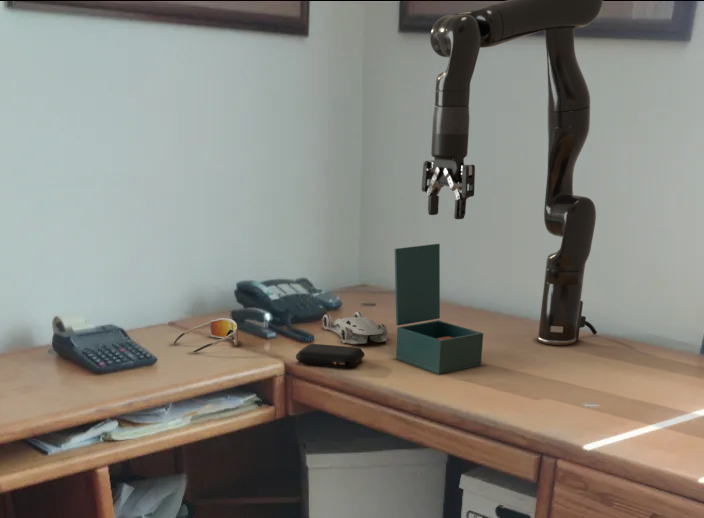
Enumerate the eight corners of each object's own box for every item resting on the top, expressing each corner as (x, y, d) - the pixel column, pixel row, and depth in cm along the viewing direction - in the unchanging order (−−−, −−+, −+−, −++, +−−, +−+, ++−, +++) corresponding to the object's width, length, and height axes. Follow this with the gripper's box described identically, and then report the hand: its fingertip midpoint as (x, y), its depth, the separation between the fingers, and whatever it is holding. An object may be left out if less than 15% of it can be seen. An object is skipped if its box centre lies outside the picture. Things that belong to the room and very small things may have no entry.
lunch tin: (480, 365, 216) (483, 333, 212) (438, 374, 209) (440, 341, 206) (437, 351, 226) (438, 320, 223) (396, 359, 220) (396, 327, 216)
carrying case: (291, 366, 215) (352, 371, 211) (291, 352, 213) (352, 357, 209) (307, 354, 224) (366, 359, 220) (307, 341, 222) (366, 346, 218)
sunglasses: (250, 344, 231) (247, 324, 228) (198, 363, 224) (193, 342, 221) (221, 333, 240) (217, 314, 237) (169, 351, 234) (165, 331, 231)
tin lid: (439, 243, 215) (424, 242, 219) (396, 248, 208) (381, 247, 212) (439, 318, 222) (425, 316, 226) (397, 325, 216) (384, 323, 220)
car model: (359, 323, 250) (359, 304, 248) (395, 345, 231) (395, 324, 228) (320, 327, 247) (319, 307, 244) (353, 349, 228) (353, 328, 225)
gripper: (487, 132, 190) (481, 219, 199) (441, 129, 200) (437, 212, 208) (459, 133, 186) (454, 222, 195) (414, 130, 196) (411, 214, 205)
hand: (445, 216), depth 202 cm, fingers open, 8 cm apart
